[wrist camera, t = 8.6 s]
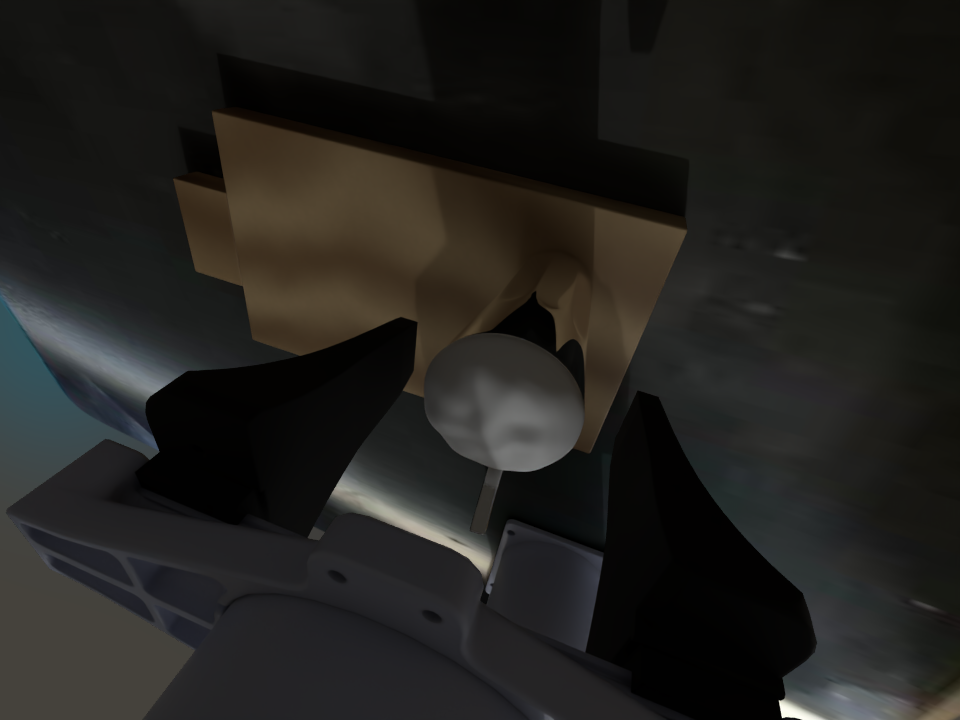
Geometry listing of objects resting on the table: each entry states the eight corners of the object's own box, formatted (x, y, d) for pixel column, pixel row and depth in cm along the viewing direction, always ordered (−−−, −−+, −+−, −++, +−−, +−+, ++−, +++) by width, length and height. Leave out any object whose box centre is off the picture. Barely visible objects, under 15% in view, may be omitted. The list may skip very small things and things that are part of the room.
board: (593, 434, 25) (590, 454, 24) (226, 313, 28) (208, 325, 27) (686, 216, 18) (688, 229, 16) (180, 92, 21) (151, 94, 20)
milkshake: (496, 339, 21) (402, 511, 14) (503, 226, 18) (386, 363, 11) (595, 359, 20) (555, 557, 13) (620, 241, 17) (587, 407, 9)
